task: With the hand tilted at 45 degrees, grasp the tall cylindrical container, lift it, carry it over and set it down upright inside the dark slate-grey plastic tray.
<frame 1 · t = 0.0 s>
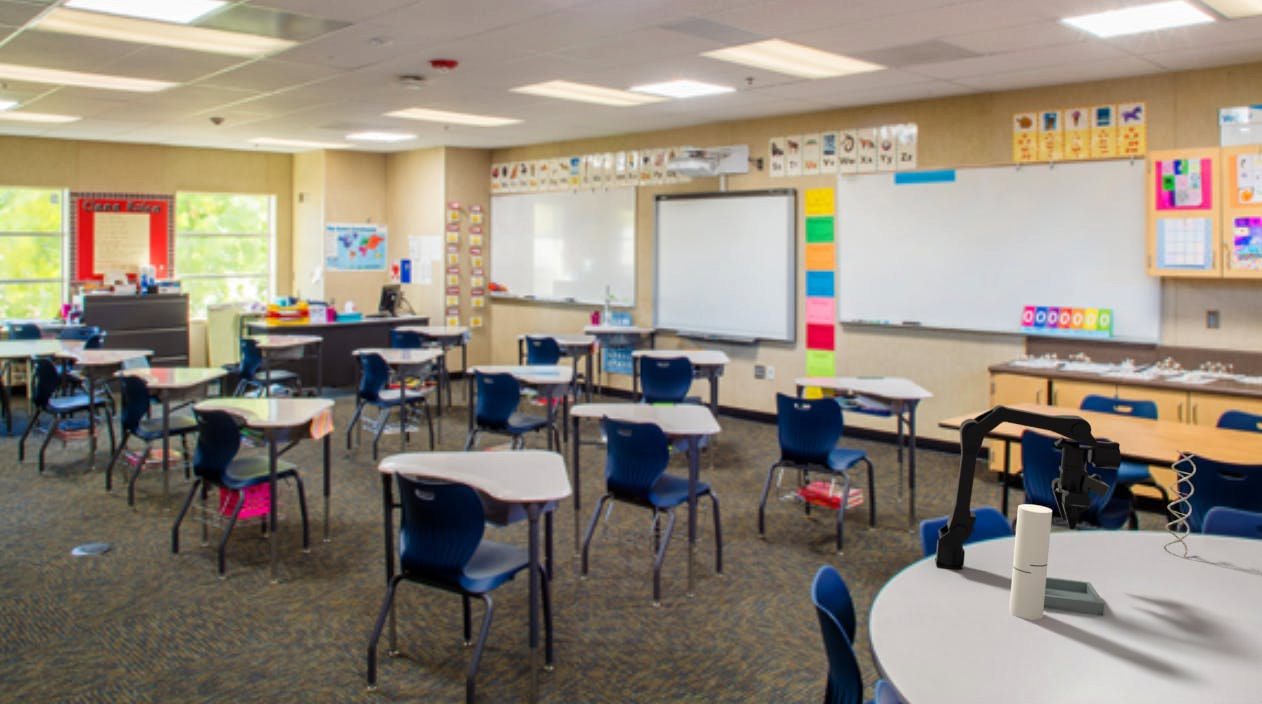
hand: (1068, 524, 230), 15 cm above the table, tool pointing down, fingers open, 9 cm apart
tray: (1061, 600, 216), on the table
dna model: (1175, 554, 258), on the table
cylindrical container: (1025, 614, 206), on the table
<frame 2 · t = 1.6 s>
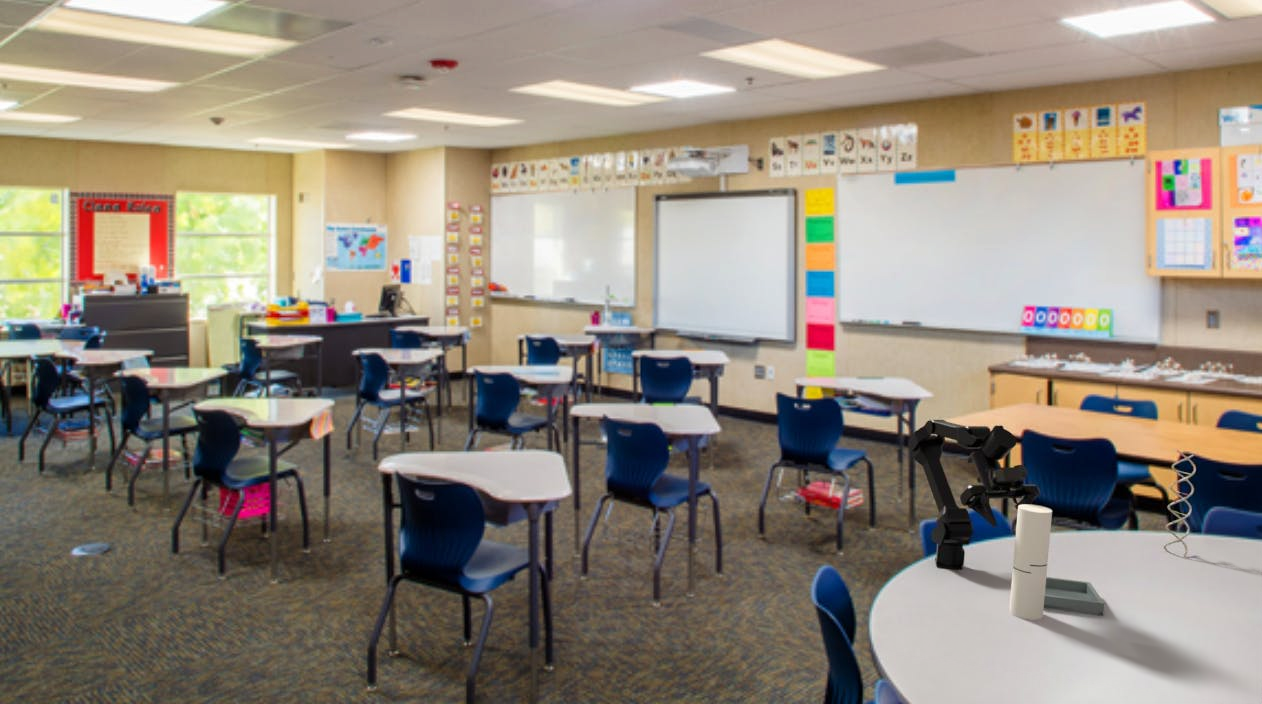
hand: (1012, 526, 212), 18 cm above the table, tool tilted 45°, fingers open, 9 cm apart
nothing on the table moved.
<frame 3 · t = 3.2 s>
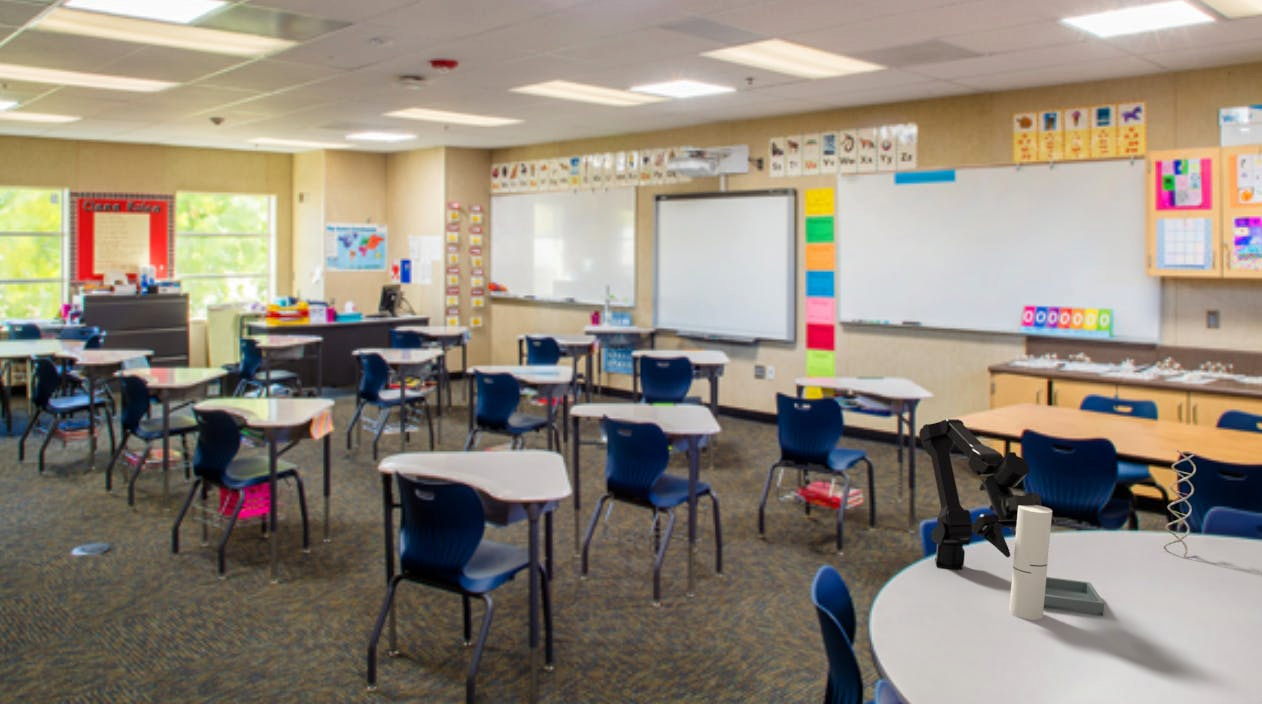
hand: (1026, 556, 206), 13 cm above the table, tool tilted 45°, fingers open, 9 cm apart
nothing on the table moved.
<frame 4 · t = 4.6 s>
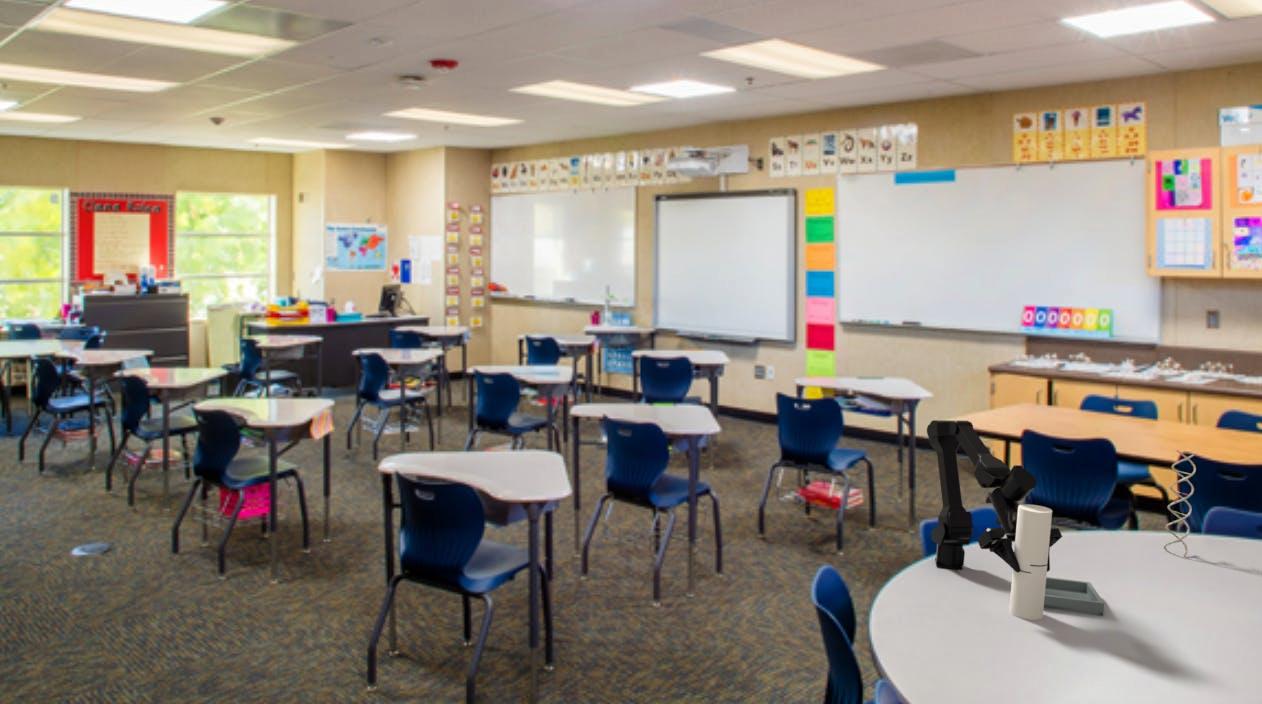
hand: (1033, 571, 204), 11 cm above the table, tool tilted 45°, fingers closed on cylindrical container, 7 cm apart
cylindrical container: (1025, 614, 206), on the table, touching gripper
everything else where it was.
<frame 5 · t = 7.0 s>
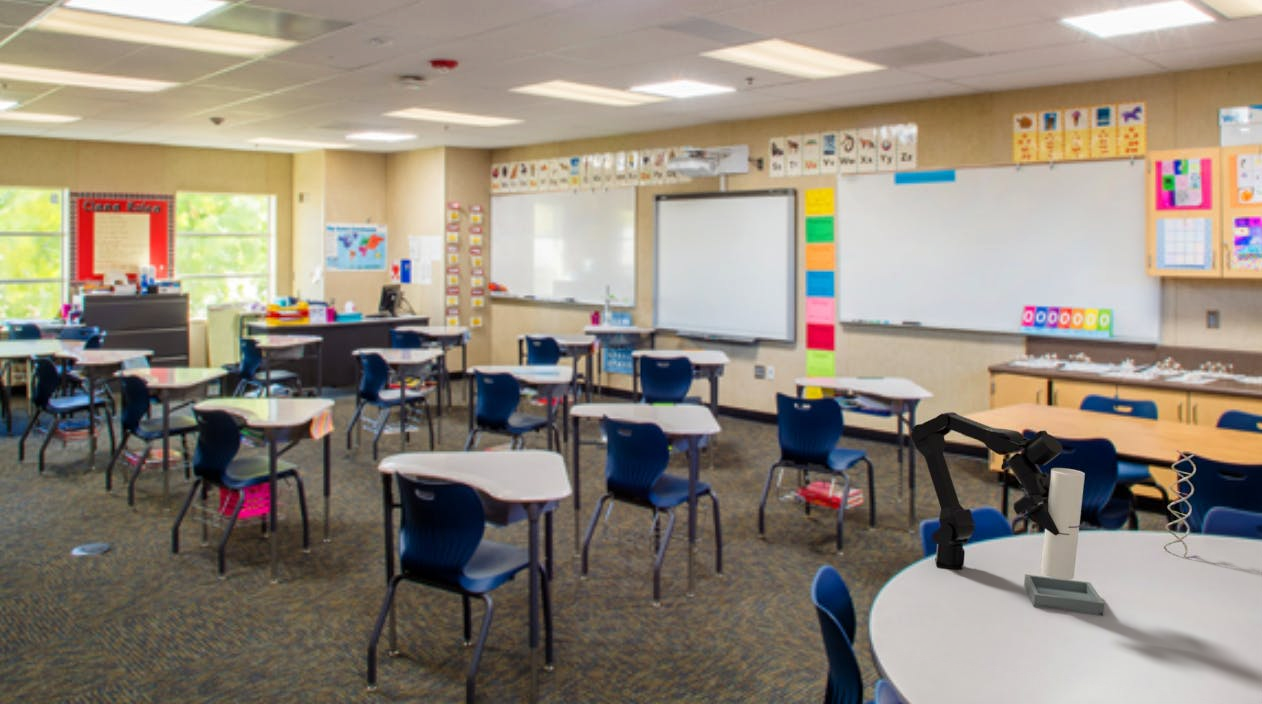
hand: (1067, 532, 210), 18 cm above the table, tool tilted 45°, fingers closed on cylindrical container, 7 cm apart
cylindrical container: (1057, 574, 212), point 7 cm above the table, touching gripper
everything else where it was.
when the fingers open (12 cm above the table, at t = 9.5 s): cylindrical container stays where it is, resting on tray.
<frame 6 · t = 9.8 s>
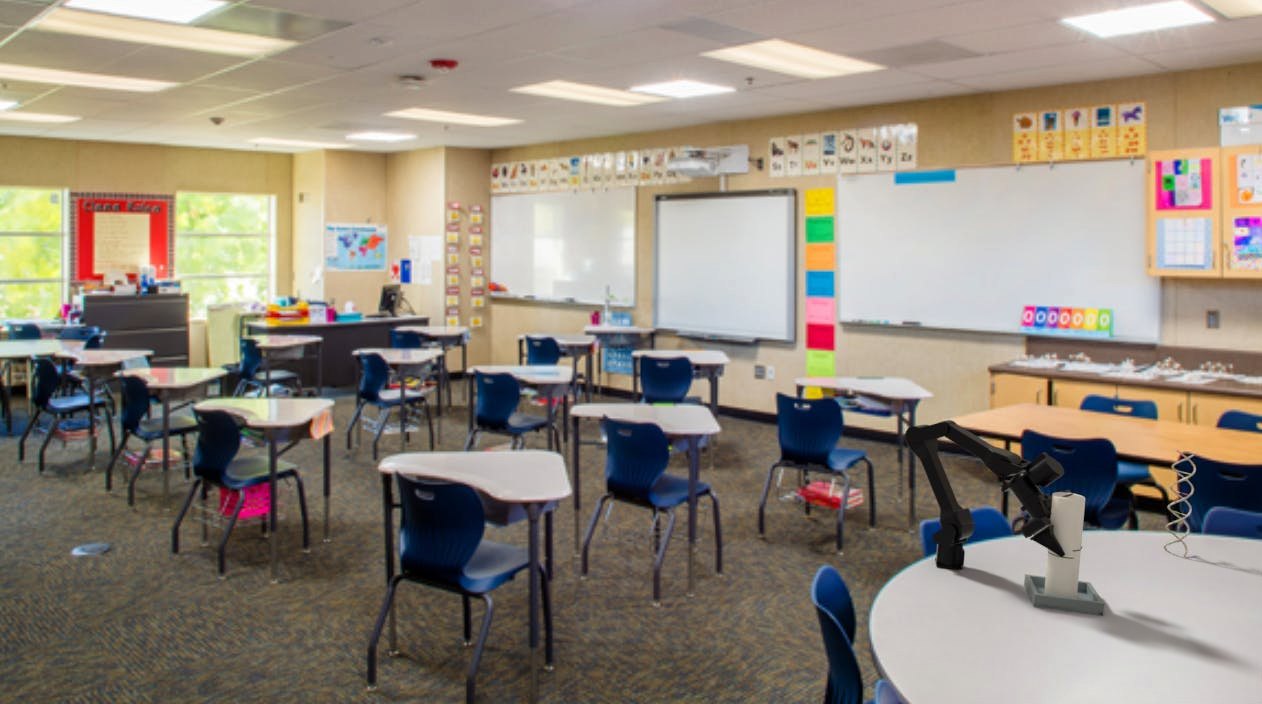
hand: (1072, 552, 214), 12 cm above the table, tool tilted 45°, fingers open, 9 cm apart
cylindrical container: (1060, 597, 216), point 1 cm above the table, touching gripper, tray
everything else where it was.
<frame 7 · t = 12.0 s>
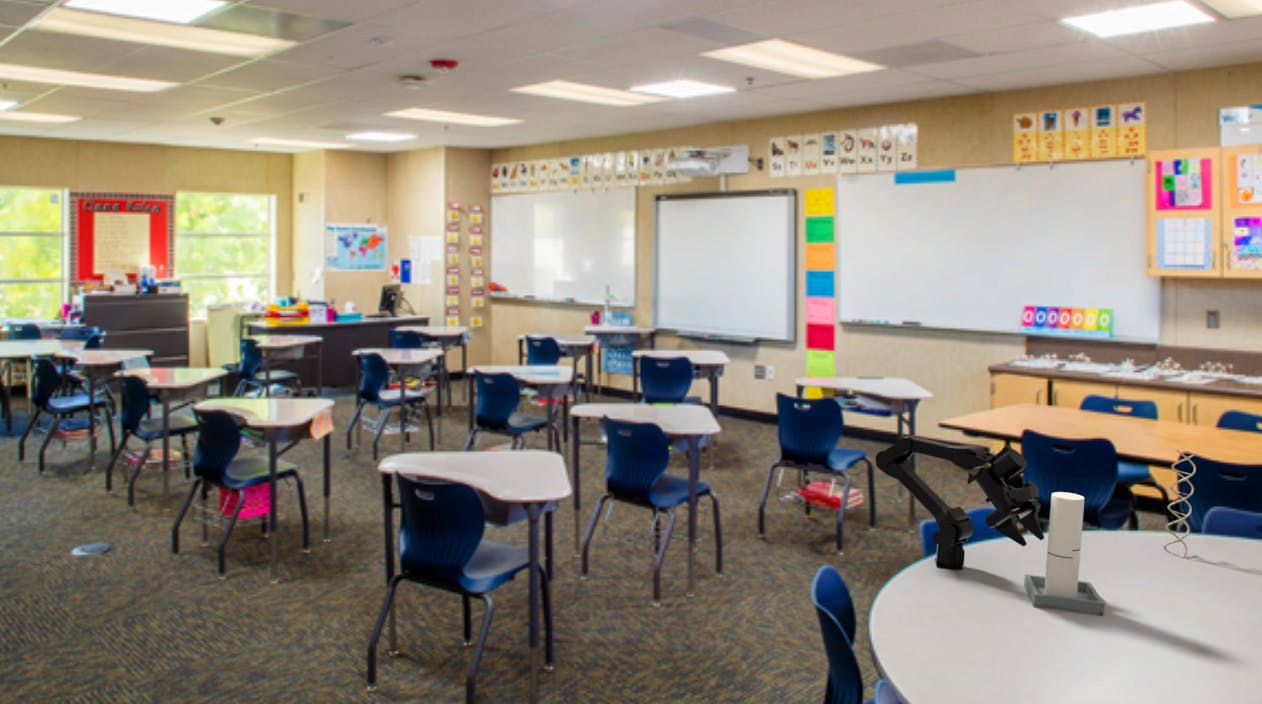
hand: (1034, 542, 221), 12 cm above the table, tool tilted 45°, fingers open, 9 cm apart
cylindrical container: (1060, 597, 216), point 1 cm above the table, touching tray
everything else where it was.
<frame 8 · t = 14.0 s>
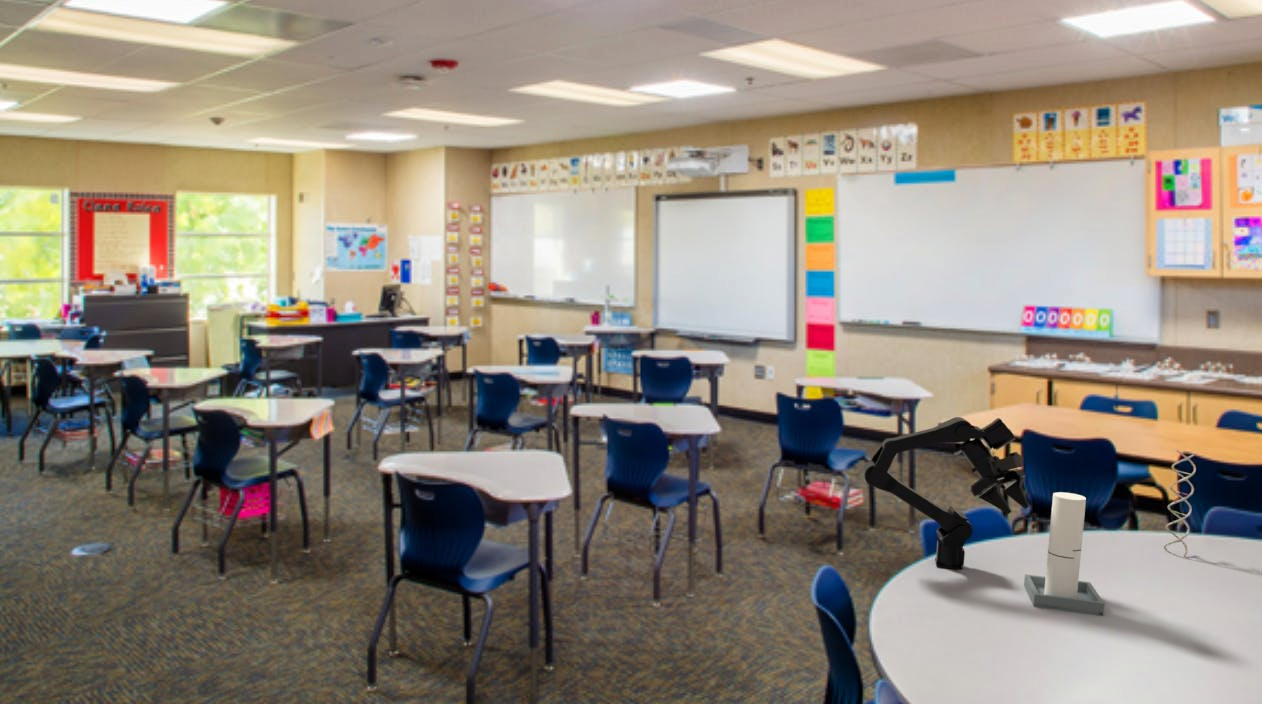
hand: (1018, 510, 226), 19 cm above the table, tool tilted 45°, fingers open, 9 cm apart
nothing on the table moved.
at the end: cylindrical container inside the target area on the tray (0.4 cm from its centre), point 0.6 cm above the tray's base; cylindrical container tilted 0°; the gripper is holding nothing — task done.
